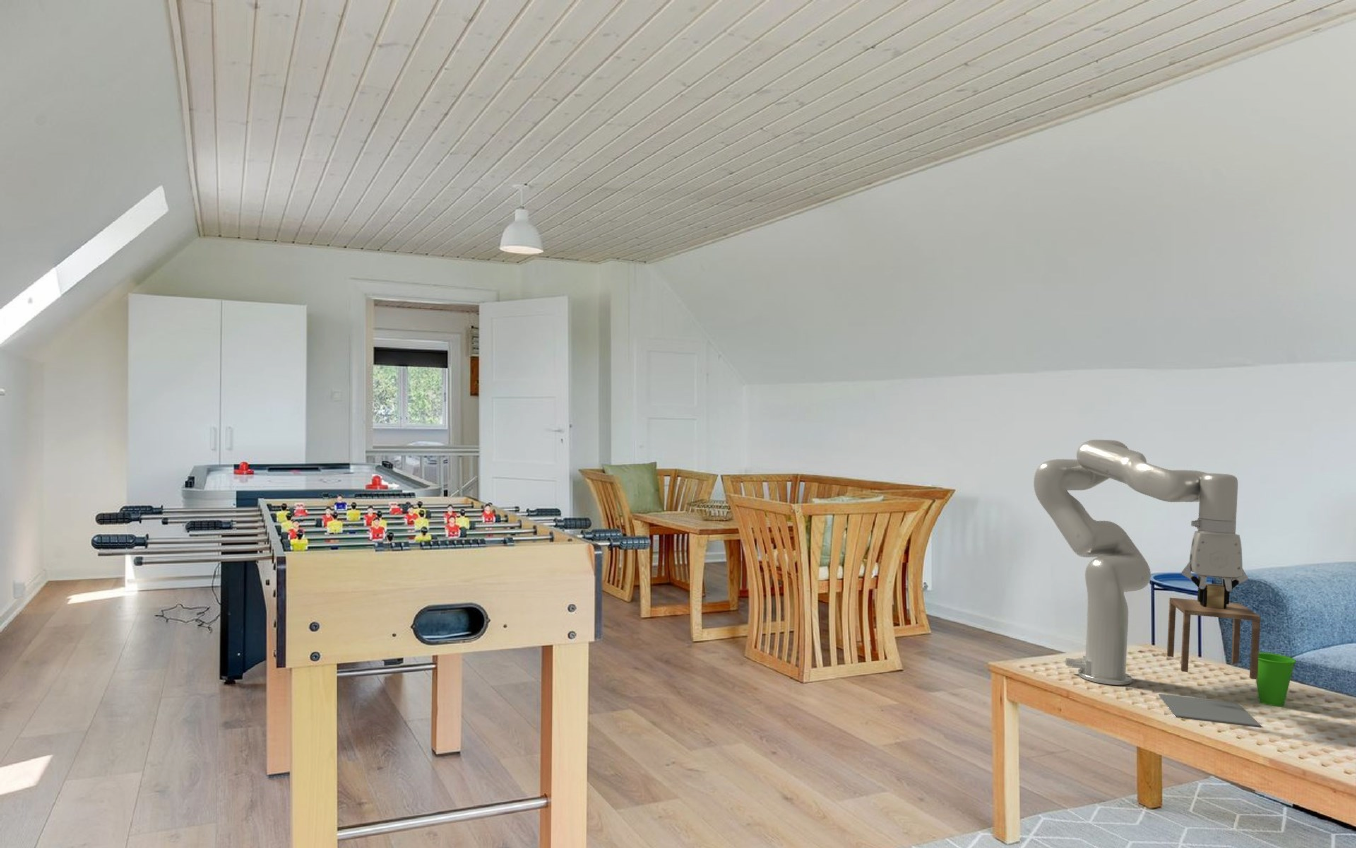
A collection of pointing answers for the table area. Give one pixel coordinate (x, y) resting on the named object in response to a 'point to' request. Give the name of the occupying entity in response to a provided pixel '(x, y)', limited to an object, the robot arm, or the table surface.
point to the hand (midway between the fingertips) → (1213, 605)
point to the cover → (1213, 610)
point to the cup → (1273, 678)
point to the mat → (1208, 710)
